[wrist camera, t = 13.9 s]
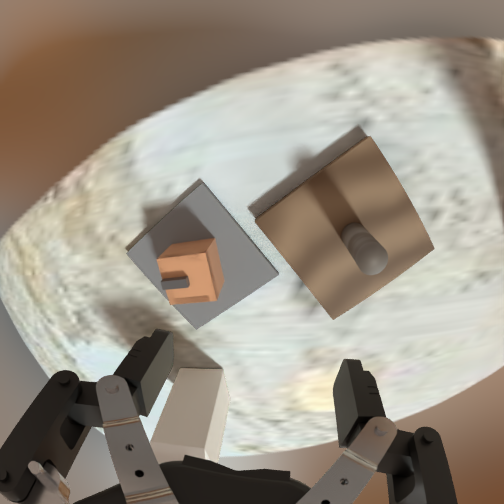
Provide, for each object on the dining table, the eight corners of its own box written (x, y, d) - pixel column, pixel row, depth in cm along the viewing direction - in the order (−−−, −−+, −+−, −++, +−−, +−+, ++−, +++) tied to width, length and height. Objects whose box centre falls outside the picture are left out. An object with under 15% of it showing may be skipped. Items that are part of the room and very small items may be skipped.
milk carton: (180, 367, 43) (140, 465, 25) (223, 368, 42) (197, 475, 25) (190, 396, 46) (160, 488, 28) (230, 398, 45) (211, 496, 27)
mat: (278, 272, 36) (278, 274, 35) (197, 327, 40) (196, 329, 39) (203, 182, 33) (202, 183, 32) (128, 251, 37) (126, 253, 36)
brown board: (429, 244, 33) (464, 272, 25) (331, 313, 37) (342, 357, 29) (366, 136, 29) (396, 134, 21) (255, 218, 34) (248, 243, 26)
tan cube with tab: (215, 237, 35) (203, 255, 29) (224, 280, 36) (215, 304, 31) (171, 244, 35) (153, 262, 30) (182, 285, 37) (167, 308, 32)
